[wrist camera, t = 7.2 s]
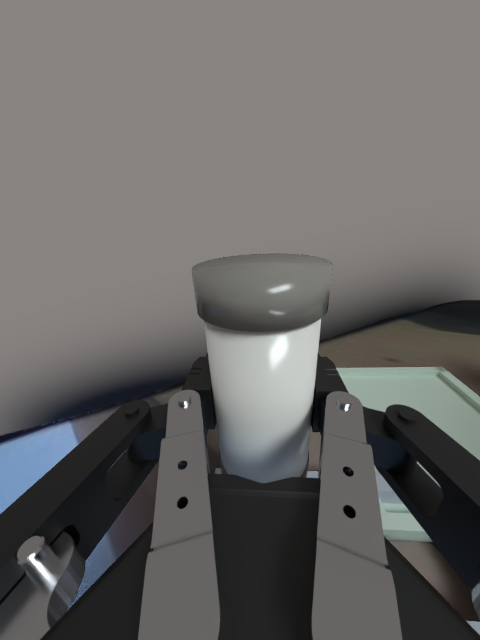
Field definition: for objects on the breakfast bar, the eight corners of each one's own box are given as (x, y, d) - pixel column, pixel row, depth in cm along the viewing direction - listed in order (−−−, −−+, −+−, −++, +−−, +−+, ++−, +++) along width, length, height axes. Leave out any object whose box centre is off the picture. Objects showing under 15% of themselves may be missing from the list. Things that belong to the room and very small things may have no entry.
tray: (374, 539, 16) (377, 529, 15) (315, 375, 32) (315, 368, 32) (649, 554, 14) (661, 543, 14) (440, 374, 31) (442, 367, 30)
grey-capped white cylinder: (217, 553, 12) (171, 283, 6) (228, 462, 16) (207, 256, 11) (314, 560, 11) (356, 277, 6) (298, 465, 16) (314, 251, 10)
